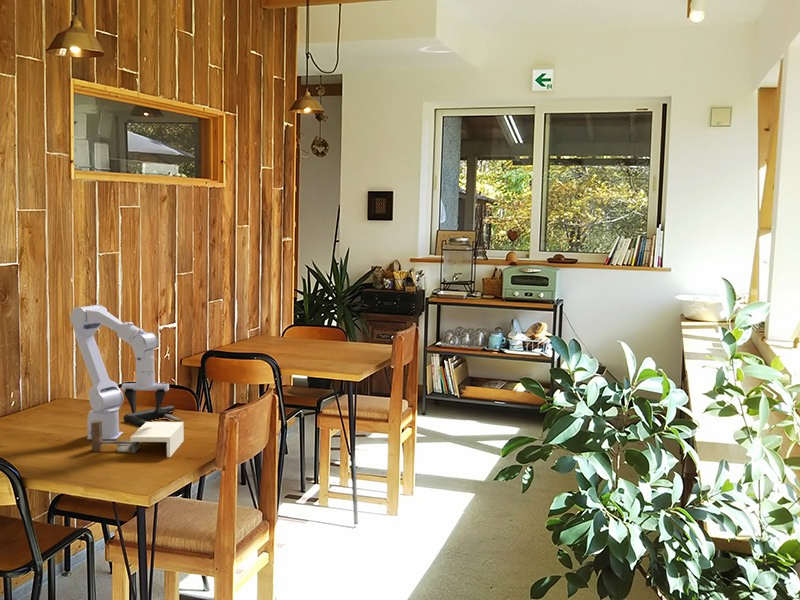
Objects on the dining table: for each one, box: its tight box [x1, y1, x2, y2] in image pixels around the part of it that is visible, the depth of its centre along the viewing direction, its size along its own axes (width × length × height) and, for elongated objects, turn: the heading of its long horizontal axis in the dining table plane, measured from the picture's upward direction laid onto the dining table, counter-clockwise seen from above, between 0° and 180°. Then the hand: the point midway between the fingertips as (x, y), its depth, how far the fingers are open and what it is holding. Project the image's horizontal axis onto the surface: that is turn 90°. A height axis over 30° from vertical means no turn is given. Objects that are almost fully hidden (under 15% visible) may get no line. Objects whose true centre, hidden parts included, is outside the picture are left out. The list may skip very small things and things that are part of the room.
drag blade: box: [91, 421, 141, 454], centre depth 262 cm, size 14×6×9 cm, turn 92°
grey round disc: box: [116, 444, 131, 453], centre depth 263 cm, size 5×5×2 cm
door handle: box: [123, 405, 181, 427], centre depth 299 cm, size 3×20×16 cm
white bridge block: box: [129, 421, 185, 458], centre depth 265 cm, size 12×18×6 cm, turn 1°
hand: (146, 412), depth 269 cm, fingers open, 7 cm apart
